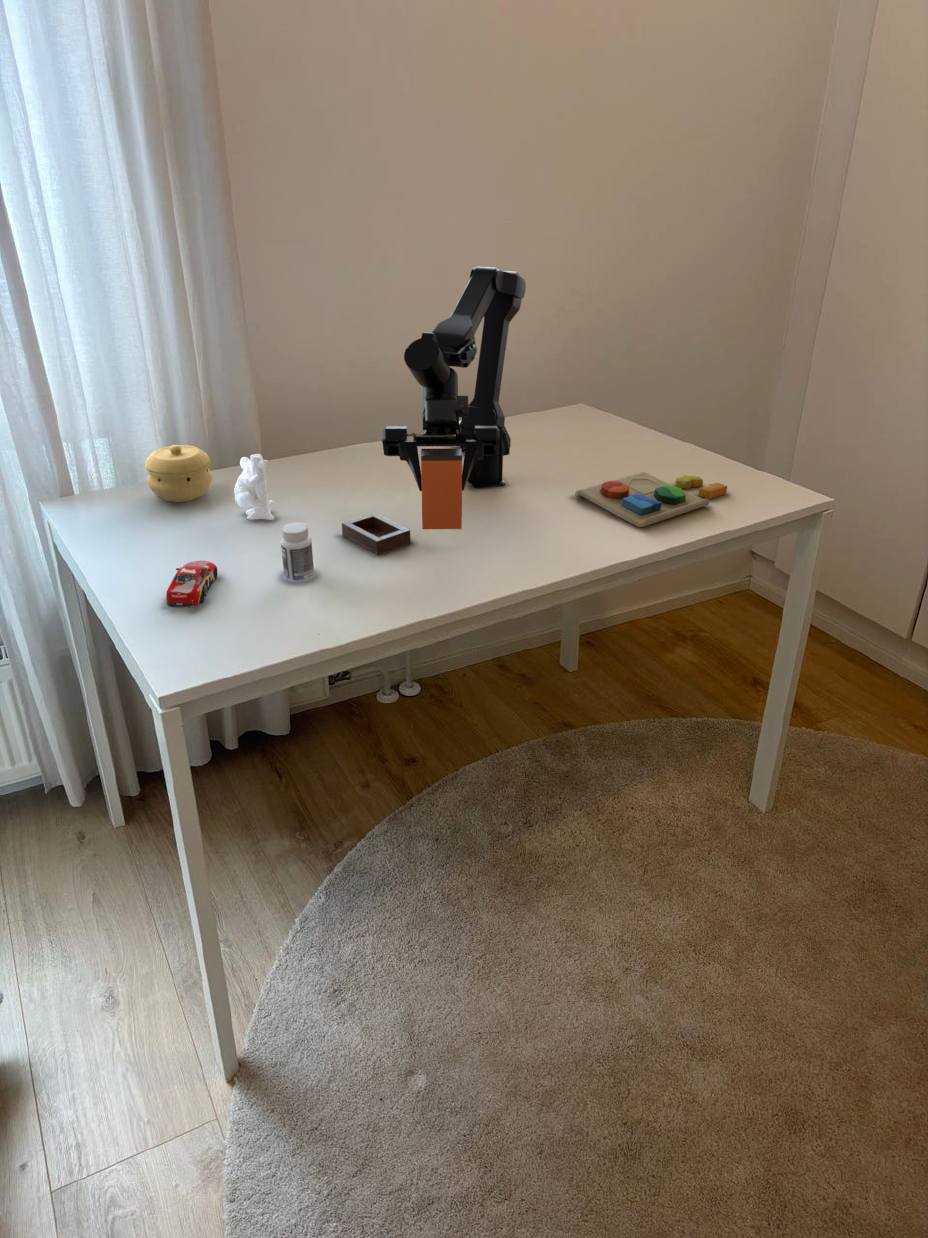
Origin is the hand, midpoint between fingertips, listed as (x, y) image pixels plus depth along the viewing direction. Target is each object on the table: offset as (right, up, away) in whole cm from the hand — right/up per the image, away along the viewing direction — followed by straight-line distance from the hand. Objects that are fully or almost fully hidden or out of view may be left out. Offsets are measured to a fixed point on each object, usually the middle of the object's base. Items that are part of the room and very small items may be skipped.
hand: (441, 489), depth 152 cm
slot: (-11, -7, +11) cm, 17 cm away
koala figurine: (-33, -2, +20) cm, 39 cm away
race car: (-38, -16, -6) cm, 42 cm away
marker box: (0, -5, +5) cm, 7 cm away
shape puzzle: (+40, +2, +28) cm, 48 cm away
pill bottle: (-22, -14, -1) cm, 26 cm away
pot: (-49, +2, +27) cm, 56 cm away
